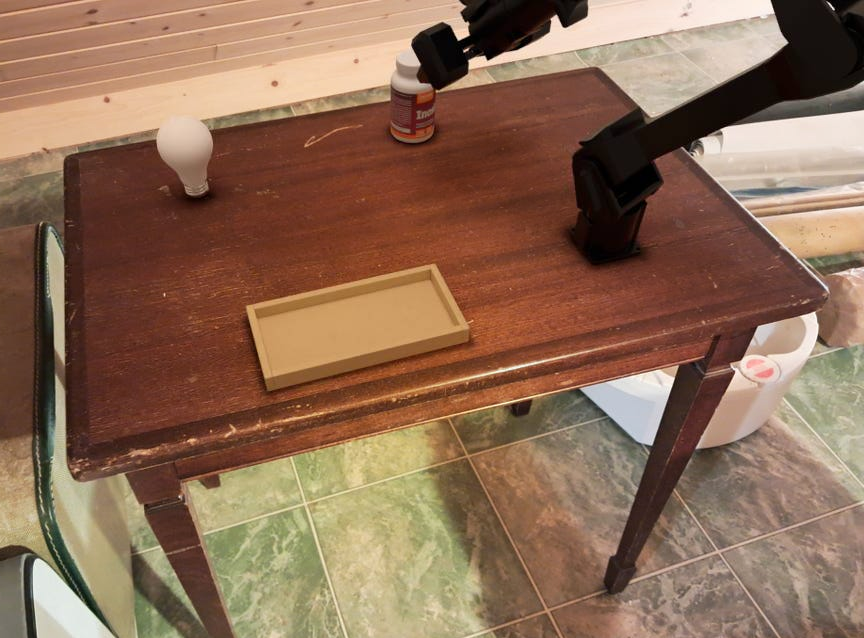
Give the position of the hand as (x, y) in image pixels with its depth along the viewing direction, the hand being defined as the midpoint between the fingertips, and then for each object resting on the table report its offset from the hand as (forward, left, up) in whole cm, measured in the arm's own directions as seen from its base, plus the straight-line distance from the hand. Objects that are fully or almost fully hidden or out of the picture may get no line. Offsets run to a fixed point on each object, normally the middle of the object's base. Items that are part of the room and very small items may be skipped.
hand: (445, 65), depth 90 cm
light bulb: (+33, 0, -12) cm, 36 cm away
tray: (+20, +29, -12) cm, 38 cm away
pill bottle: (+2, -5, -12) cm, 13 cm away
